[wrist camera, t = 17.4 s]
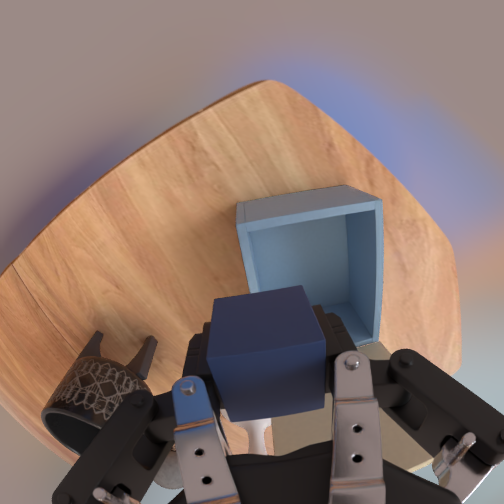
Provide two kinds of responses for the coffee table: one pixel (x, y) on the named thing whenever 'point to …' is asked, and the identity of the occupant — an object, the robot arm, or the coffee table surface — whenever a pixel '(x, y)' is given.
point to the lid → (319, 423)
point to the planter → (93, 393)
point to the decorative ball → (169, 473)
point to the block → (267, 354)
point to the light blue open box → (319, 251)
